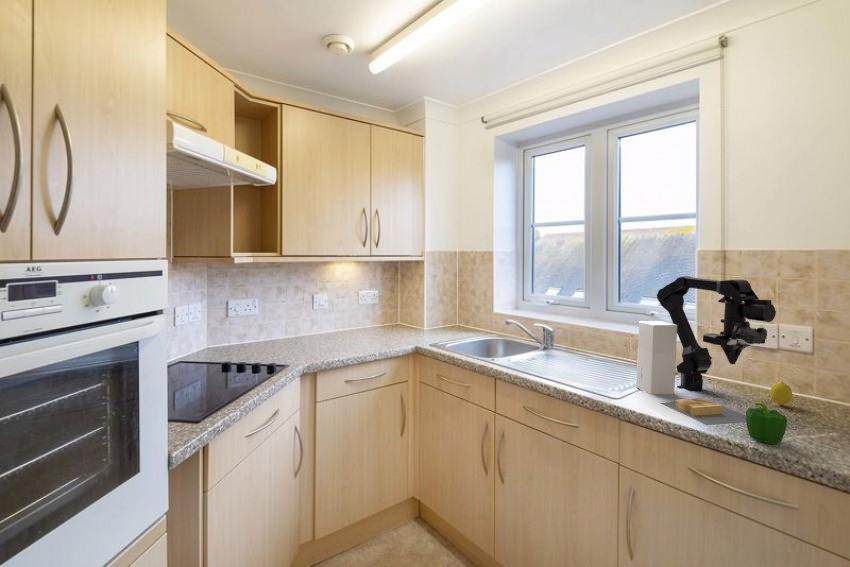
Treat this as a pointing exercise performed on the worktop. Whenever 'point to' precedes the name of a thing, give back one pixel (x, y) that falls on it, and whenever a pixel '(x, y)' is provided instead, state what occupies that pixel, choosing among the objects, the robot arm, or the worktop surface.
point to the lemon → (781, 393)
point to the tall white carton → (656, 357)
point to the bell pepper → (765, 424)
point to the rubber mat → (714, 416)
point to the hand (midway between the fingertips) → (732, 364)
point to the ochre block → (698, 406)
